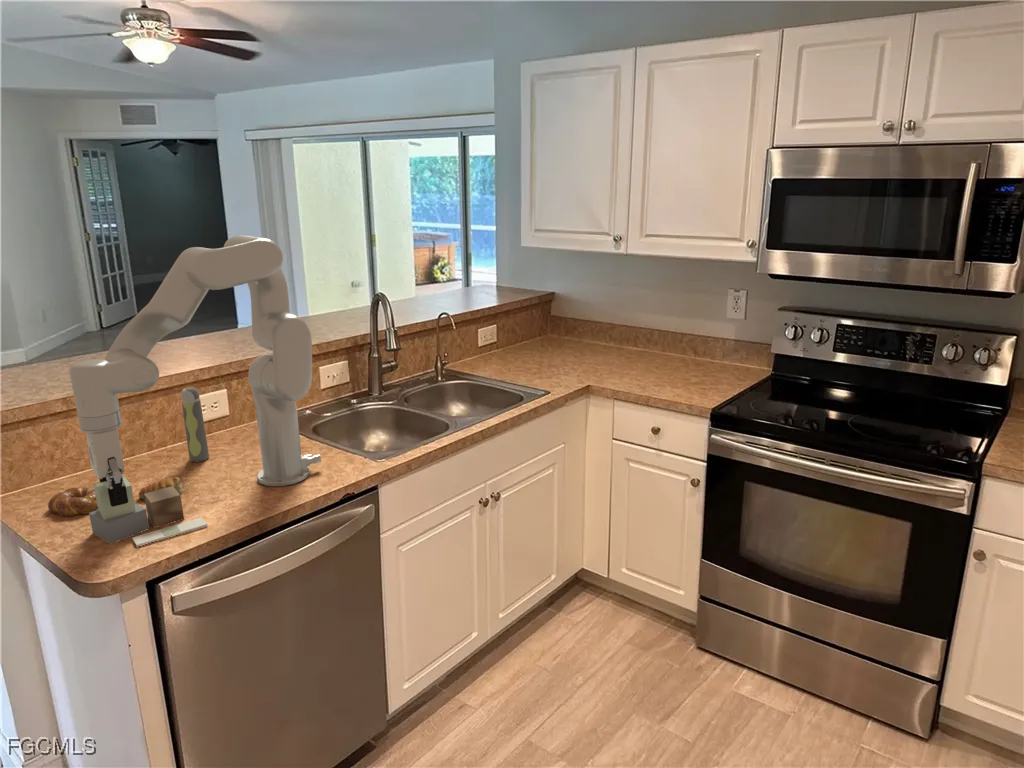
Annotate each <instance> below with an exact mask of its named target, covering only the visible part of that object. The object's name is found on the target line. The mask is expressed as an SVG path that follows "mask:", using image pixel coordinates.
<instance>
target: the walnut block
mask: <svg viewBox="0 0 1024 768" xmlns="http://www.w3.org/2000/svg"><path fill="white" fill-rule="evenodd" d="M181 496H182V495H180V494H179V493H178V492H177V490H176V489H175V488H174V487H173V486H171V487H167V488H164V489H160V490H156V491H152V492H148V493H144V497H145V500H144V501H145V507H146V508H145V509H146V513H147V519H149V520H148V521H150V522H152V523H151V524H152V525H153V527H154V528H155V527H156V528H158V527H157V526H159V527H163V526H166V525H169V524H172V523H171V522H173V523H175V522H174V521H176V522H179V521H178V520H180V521H182V520H181V519H183V520H185V516H184V515H185V514H184V509H183V504H182V497H181ZM168 523H169V524H168ZM165 524H166V525H165ZM162 525H163V526H162Z"/></svg>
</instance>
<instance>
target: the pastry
mask: <svg viewBox="0 0 1024 768" xmlns="http://www.w3.org/2000/svg"><path fill="white" fill-rule="evenodd" d="M171 486H173V487H174V488H175V489H176V490H177V492H178V493H179V494H180V496H182V494H183V490H182V488H183V485H182V482H181V479H180V477H178V476H175V477H174V478H165V479H164V478H162V479H160V480H159V481H155V482H153V483H149V484H148V485H146V486H145V487H142V488H140V491H139V492H138V496H139V498H141V500H144V501H145V497H144V493H148V492H152V491H156V490H160V489H164V488H167V487H171Z"/></svg>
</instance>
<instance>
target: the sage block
mask: <svg viewBox="0 0 1024 768" xmlns="http://www.w3.org/2000/svg"><path fill="white" fill-rule="evenodd" d="M122 477H123V480H124V484H125V486H126V491H127V497H128V503H126V504H122V505H118V506H114V507H112V506H111V504H110V499H109V494H108V488H109V486H108V482H107V481H104V482H100V481H99V482H96V483H93V489H95V495H96V500H97V505H98V508H97V510H99V512H100V514H101V515H102V517H103V519H104V520H106V519H109V518H113V517H117V516H121V515H124V514H128V513H132V512H135V511H136V509H135V504H136V503H135V499H134V494H133V493H134V492H133V487H132V484H131V483H130V481H129V480H128V479H127V477H126V476H122ZM111 481H112V480H111Z"/></svg>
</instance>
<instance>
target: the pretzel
mask: <svg viewBox="0 0 1024 768" xmlns="http://www.w3.org/2000/svg"><path fill="white" fill-rule="evenodd" d="M47 507H48V511H49V512H50V513H52V514H54V515H59V516H64V517H75V516H78V515H81V516H83V515H87V514H88V515H89V513H90V512H93V511H96V510H98V505H97V500H96V495H95V489H94V488H92V487H71V488H67V489H66V490H63V491H62V492H58V493H57V494H54V495H53V496H52V497H51V498H50V499H49V501H48V503H47Z"/></svg>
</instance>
